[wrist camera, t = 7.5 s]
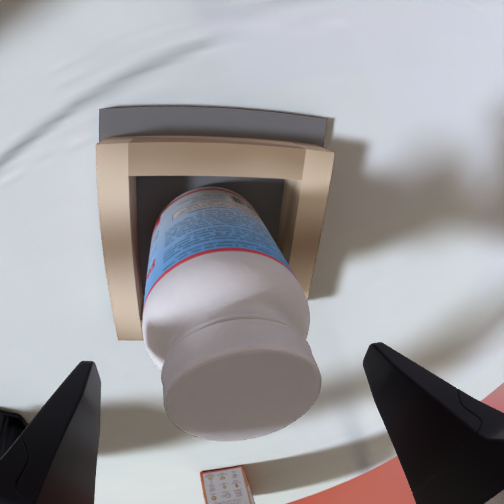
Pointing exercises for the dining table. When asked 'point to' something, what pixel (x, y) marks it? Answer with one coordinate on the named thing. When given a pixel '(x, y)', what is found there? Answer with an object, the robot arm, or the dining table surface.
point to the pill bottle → (226, 320)
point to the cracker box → (226, 486)
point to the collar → (204, 164)
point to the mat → (169, 187)
